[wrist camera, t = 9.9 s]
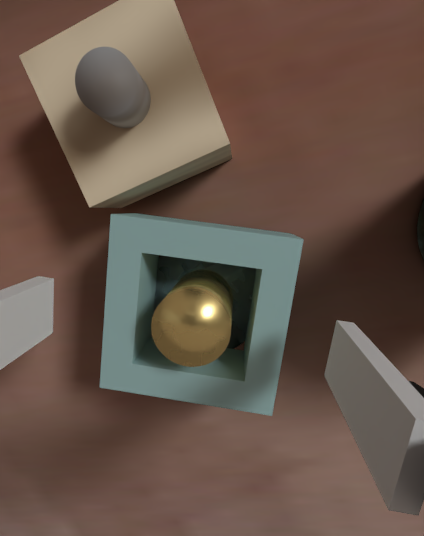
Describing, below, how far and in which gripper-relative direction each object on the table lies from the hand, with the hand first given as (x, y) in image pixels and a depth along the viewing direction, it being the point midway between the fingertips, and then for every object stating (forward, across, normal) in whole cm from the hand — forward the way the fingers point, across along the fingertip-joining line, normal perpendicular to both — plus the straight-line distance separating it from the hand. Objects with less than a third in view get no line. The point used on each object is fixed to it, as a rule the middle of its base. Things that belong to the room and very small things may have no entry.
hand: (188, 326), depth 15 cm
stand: (+9, -5, +10) cm, 14 cm away
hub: (+9, 0, -1) cm, 9 cm away
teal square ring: (+7, 0, -1) cm, 7 cm away
